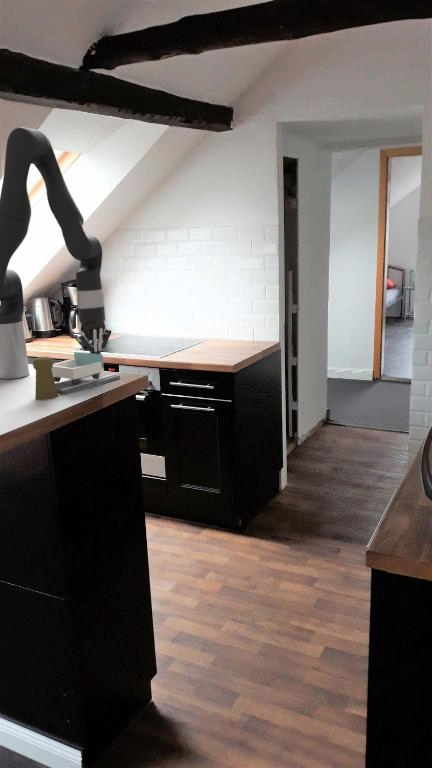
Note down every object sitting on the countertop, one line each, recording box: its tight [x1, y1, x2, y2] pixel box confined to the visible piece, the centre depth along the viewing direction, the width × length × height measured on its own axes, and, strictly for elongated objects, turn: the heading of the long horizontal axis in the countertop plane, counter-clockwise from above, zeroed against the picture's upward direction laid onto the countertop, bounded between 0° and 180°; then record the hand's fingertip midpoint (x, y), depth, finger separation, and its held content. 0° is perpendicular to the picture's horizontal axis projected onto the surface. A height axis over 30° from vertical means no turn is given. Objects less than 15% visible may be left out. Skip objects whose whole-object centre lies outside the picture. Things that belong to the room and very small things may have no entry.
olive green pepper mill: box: [32, 356, 59, 401], centre depth 162 cm, size 6×6×11 cm
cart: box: [52, 351, 105, 385], centre depth 173 cm, size 11×11×7 cm
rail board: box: [55, 372, 121, 396], centre depth 175 cm, size 10×21×1 cm, turn 144°
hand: (96, 363), depth 179 cm, fingers closed
